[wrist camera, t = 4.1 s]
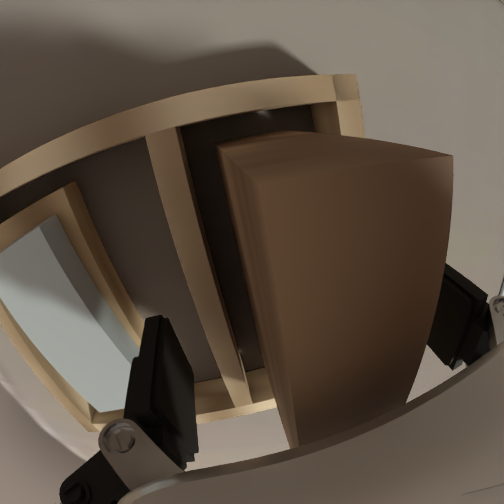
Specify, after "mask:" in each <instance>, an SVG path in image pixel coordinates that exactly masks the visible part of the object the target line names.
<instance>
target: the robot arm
mask: <svg viewBox="0 0 504 504" xmlns="http://www.w3.org/2000/svg"><path fill="white" fill-rule="evenodd" d="M500 1H502V2H503V3H504V0H500ZM487 297H488V294H486V293H485V292H484V291H483V290H481V289H480V288H479V287H477V286H476V285H475V284H474V283H472V282H471V281H470V280H468V279H467V278H466V277H464V276H463V275H462V274H460V273H459V272H457V271H456V270H455V269H453V268H452V267H451V266H449V265H448V264H446V263H445V268H444V274H443V279H442V284H441V289H440V294H439V299H438V303H437V307H436V312H435V316H434V320H433V323H432V327H431V331H430V334H429V338H428V341H427V345H428V346H429V347H430V348H431V349H432V351H433V352H434V353H435V354H436V355H437V356H438V358H439V359H440V360H441V361H442V362H443V363H444V364H445V365H448V366H449V367H450V368H451V369H452V371H453V370H454V369H456V368H457V367H459V366H460V365H462V363H463V361H464V362H465V363H466V368H465V369H463V370H462V371H460V372H459V373H457V374H456V375H454V376H453V377H451V378H450V379H448V380H446V381H445V382H443V383H441V384H440V385H438V386H436V387H435V388H433V389H431V390H430V391H428V392H426V393H424V394H423V395H421V396H419V397H417V398H415V399H413V400H412V401H410V402H408V403H406V404H404V405H402V406H400V407H398V408H396V409H394V410H392V411H390V412H388V413H386V414H383V415H381V416H379V417H377V418H375V419H372V420H370V421H368V422H365V423H363V424H361V425H358V426H356V427H353V428H351V429H348V430H346V431H343V432H341V433H338V434H335V435H332V436H330V437H327V438H324V439H321V440H318V441H315V442H312V443H309V444H306V445H302V446H299V447H296V448H292V449H289V450H285V451H281V452H278V453H274V454H270V455H266V456H262V457H258V458H253V459H249V460H244V461H240V462H235V463H229V464H224V465H218V466H213V467H208V468H203V469H197V470H191V471H187V472H185V471H184V470H185V469H186V468H187V465H186V462H193V461H195V458H194V453H198V451H199V447H198V436H197V423H196V409H195V393H194V375H193V371H192V368H191V366H190V364H189V362H188V360H187V357H186V355H185V353H184V351H183V349H182V347H181V345H180V343H179V340H178V338H177V336H176V334H175V332H174V329H173V327H172V325H171V323H170V320H169V319H168V318H163V316H162V315H157V316H153V317H148V318H146V319H145V324H144V329H143V334H142V339H141V345H140V351H139V356H138V357H134V358H133V360H132V364H131V370H130V376H129V382H128V388H127V394H126V401H125V408H124V416H123V419H122V418H120V419H116V420H113V421H111V422H109V423H108V424H107V425H106V426H104V427H103V429H102V431H101V432H100V434H99V438H98V443H99V448H100V451H99V452H97V453H96V454H95V455H94V456H93V457H92V458H90V459H89V460H88V461H87V462H86V463H84V464H83V465H82V466H81V467H80V468H79V469H77V470H76V471H75V472H74V473H73V474H71V475H70V476H69V477H68V478H66V480H65V481H64V482H63V483H62V485H61V487H60V493H59V495H60V500H61V503H60V504H504V296H501V295H500V296H494V297H493V298H491V299H490V302H489V304H488V303H487V302H486V300H487Z"/></svg>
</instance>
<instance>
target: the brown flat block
mask: <svg viewBox="0 0 504 504" xmlns="http://www.w3.org/2000/svg"><path fill="white" fill-rule="evenodd" d="M214 145H215V150H216V155H217V159H218V164H219V169H220V174H221V178H222V183H223V188H224V192H225V197H226V201H227V206H228V211H229V215H230V220H231V224H232V229H233V233H234V238H235V242H236V247H237V251H238V256H239V260H240V265H241V269H242V274H243V278H244V282H245V287H246V291H247V295H248V300H249V304H250V308H251V313H252V317H253V321H254V326H255V330H256V334H257V338H258V343H259V347H260V351H261V355H262V359H263V362H264V365H265V369H266V372H267V375H268V379H269V382H270V385H271V389H272V392H273V395H274V398H275V402H276V405H277V408H278V411H279V414H280V418H281V421H282V424H283V427H284V430H285V433H286V437H287V440H288V443H289V446H290V449H292V448H296V447H299V446H302V445H306V444H309V443H312V442H315V441H318V440H321V439H324V438H327V437H330V436H332V435H335V434H338V433H341V432H343V431H346V430H348V429H351V428H353V427H356V426H358V425H361V424H363V423H365V422H368V421H370V420H372V419H375V418H377V417H379V416H381V415H383V414H386V413H388V412H390V411H392V410H394V409H396V408H398V407H400V406H402V405H404V404H405V403H406V401H407V398H408V396H409V393H410V391H411V388H412V386H413V383H414V380H415V378H416V375H417V372H418V369H419V366H420V363H421V360H422V357H423V354H424V351H425V348H426V345H427V341H428V338H429V334H430V331H431V327H432V323H433V320H434V316H435V312H436V307H437V303H438V299H439V294H440V289H441V284H442V279H443V274H444V268H445V262H446V255H447V248H448V241H449V232H450V222H451V211H452V194H453V156H452V155H448V154H444V153H440V152H436V151H431V150H427V149H422V148H418V147H413V146H408V145H403V144H397V143H392V142H386V141H380V140H373V139H367V138H359V137H352V136H344V135H335V134H325V133H314V132H301V131H286V130H285V131H278V132H272V133H266V134H260V135H254V136H249V137H243V138H238V139H233V140H228V141H224V142H219V143H214Z"/></svg>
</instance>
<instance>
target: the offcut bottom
mask: <svg viewBox="0 0 504 504" xmlns="http://www.w3.org/2000/svg"><path fill="white" fill-rule="evenodd" d="M55 214H56V215H57V217H58V219H59V221H60V223H61V225H62V227H63V229H64V231H65V233H66V235H67V237H68V239H69V240H70V242H71V244H72V246H73V248H74V250H75V251H76V253H77V255H78V257H79V259H80V260H81V262H82V264H83V265H84V267H85V269H86V271H87V272H88V274H89V276H90V277H91V279H92V280H93V282H94V284H95V285H96V287H97V288H98V290H99V292H100V293H101V295H102V296H103V298H104V299H105V301H106V302H107V304H108V305H109V307H110V308H111V310H112V311H113V313H114V314H115V316H116V317H117V318H118V320H119V321H120V323H121V324H122V326H123V327H124V328H125V330H126V331H127V332H128V334H129V335H130V337H131V338H132V339H133V341H134V342H135V343H136V344H137V346H138V347H139V348H140V345H141V339H142V334H143V329H144V322H143V320H142V319H141V317H140V315H139V313H138V312H137V310H136V308H135V306H134V305H133V303H132V301H131V299H130V297H129V296H128V294H127V292H126V290H125V288H124V286H123V284H122V283H121V281H120V279H119V277H118V275H117V273H116V271H115V269H114V267H113V265H112V263H111V261H110V259H109V257H108V255H107V253H106V251H105V248H104V246H103V244H102V242H101V240H100V238H99V235H98V233H97V231H96V229H95V226H94V224H93V222H92V219H91V217H90V215H89V212H88V210H87V208H86V205H85V203H84V200H83V198H82V195H81V192H80V190H79V187H78V184H77V182H76V181H74V182H72V183H70V184H68V185H66V186H64V187H62V188H60V189H58V190H56V191H55V192H53V193H51V194H49V195H47V196H45V197H44V198H42V199H40V200H38V201H37V202H35V203H33V204H31V205H30V206H28V207H26V208H25V209H23V210H21V211H20V212H18V213H17V214H15V215H13V216H12V217H10V218H9V219H7V220H6V221H4V222H3V223H1V224H0V251H1V250H3V249H4V248H5V247H7V246H8V245H10V244H11V243H12V242H14V241H15V240H17V239H18V238H20V237H21V236H22V235H24V234H25V233H27V232H28V231H30V230H31V229H33V228H34V227H36V226H37V225H39V224H41V223H42V222H44V221H45V220H47V219H48V218H50V217H52V216H53V215H55Z"/></svg>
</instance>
